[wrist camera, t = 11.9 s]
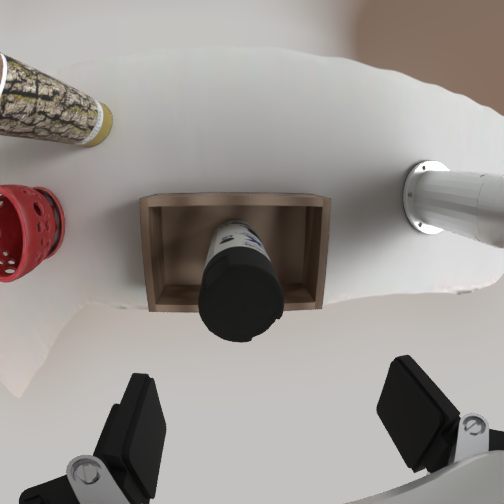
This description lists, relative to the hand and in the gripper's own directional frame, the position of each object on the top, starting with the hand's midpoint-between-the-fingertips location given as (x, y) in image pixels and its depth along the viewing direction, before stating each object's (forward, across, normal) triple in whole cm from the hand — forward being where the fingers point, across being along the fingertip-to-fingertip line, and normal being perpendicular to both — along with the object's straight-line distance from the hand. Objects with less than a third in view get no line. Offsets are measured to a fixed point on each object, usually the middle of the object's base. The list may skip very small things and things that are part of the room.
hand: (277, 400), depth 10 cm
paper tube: (+32, +22, -17) cm, 43 cm away
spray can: (+32, +1, +1) cm, 32 cm away
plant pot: (+32, +33, -3) cm, 46 cm away
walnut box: (+32, +1, +1) cm, 32 cm away
